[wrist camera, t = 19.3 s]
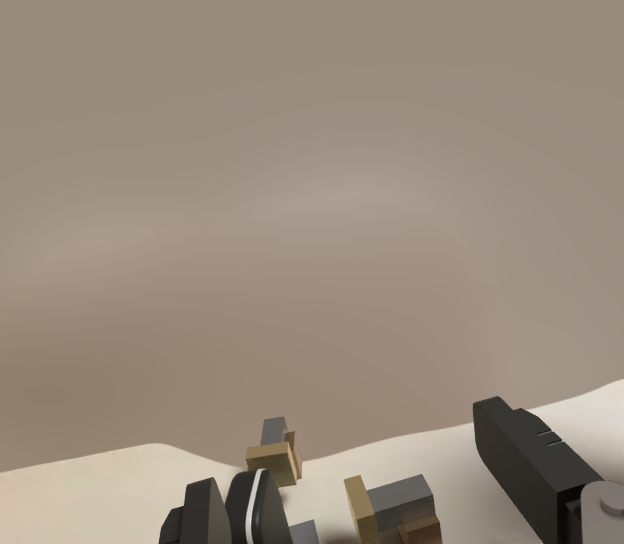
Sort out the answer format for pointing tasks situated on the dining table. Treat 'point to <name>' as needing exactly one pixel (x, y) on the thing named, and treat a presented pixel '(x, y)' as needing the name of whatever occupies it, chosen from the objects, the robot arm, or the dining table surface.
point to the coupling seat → (304, 533)
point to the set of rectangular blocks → (355, 491)
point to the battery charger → (256, 510)
